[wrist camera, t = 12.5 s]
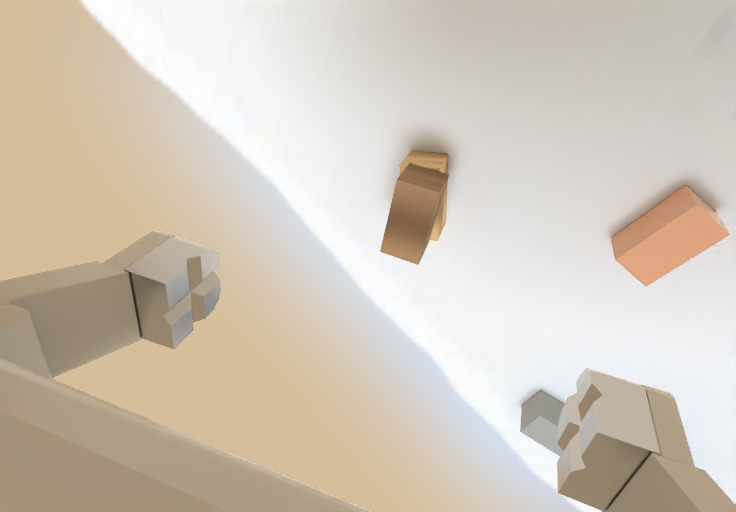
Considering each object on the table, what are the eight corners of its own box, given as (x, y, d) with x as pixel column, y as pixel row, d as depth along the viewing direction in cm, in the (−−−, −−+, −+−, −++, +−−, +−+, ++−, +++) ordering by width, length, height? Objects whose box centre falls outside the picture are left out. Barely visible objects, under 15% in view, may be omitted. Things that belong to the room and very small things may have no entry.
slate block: (594, 421, 53) (597, 450, 50) (573, 436, 55) (575, 465, 52) (541, 388, 53) (540, 415, 50) (522, 404, 55) (520, 431, 52)
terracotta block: (685, 184, 38) (697, 204, 35) (715, 212, 38) (730, 234, 35) (610, 237, 42) (615, 259, 39) (638, 262, 42) (645, 286, 39)
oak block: (411, 151, 44) (399, 165, 41) (448, 153, 43) (439, 168, 40) (411, 218, 48) (400, 236, 44) (445, 222, 47) (437, 241, 43)
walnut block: (409, 162, 40) (397, 179, 37) (448, 174, 40) (439, 192, 37) (392, 231, 44) (380, 251, 41) (428, 242, 44) (418, 264, 41)
